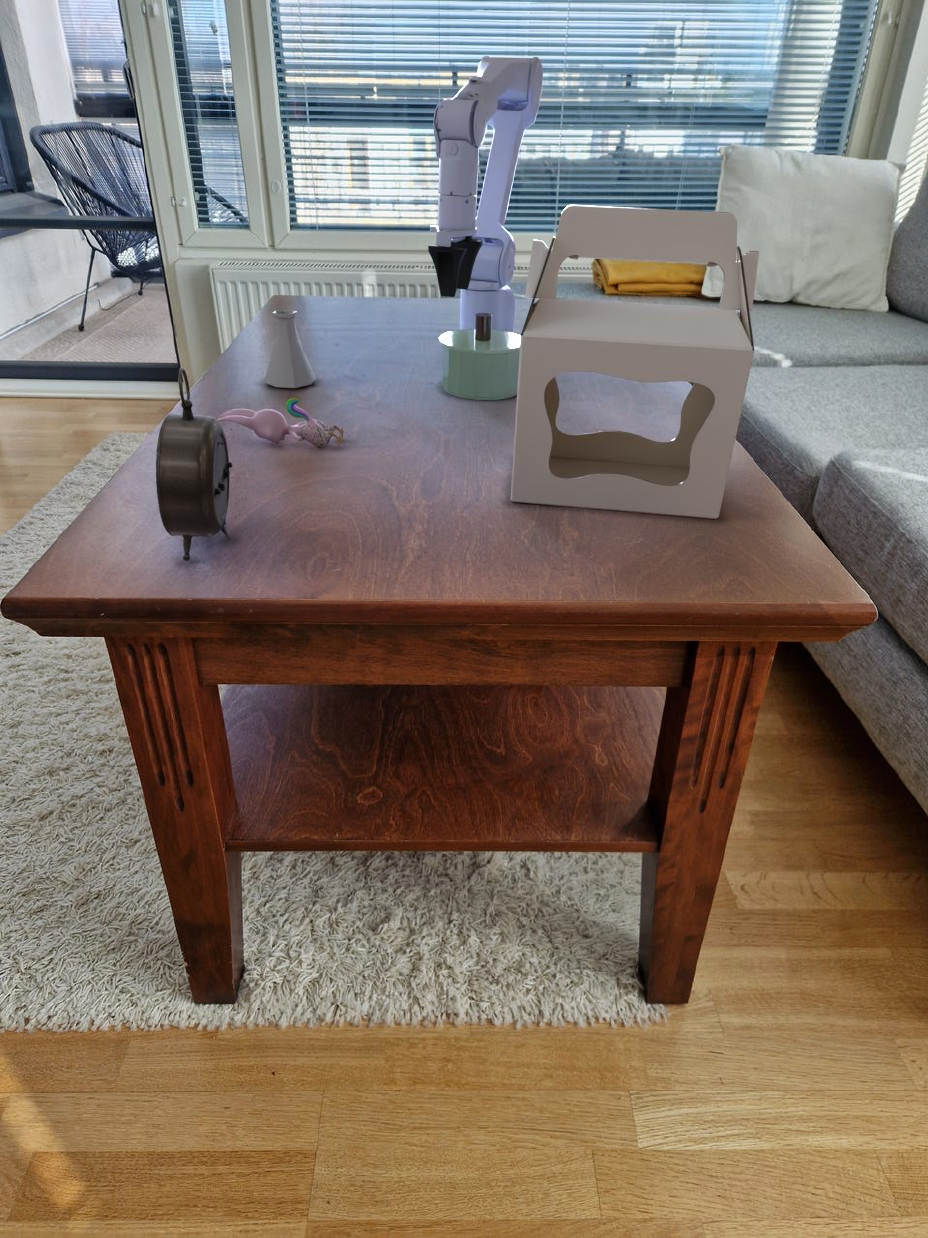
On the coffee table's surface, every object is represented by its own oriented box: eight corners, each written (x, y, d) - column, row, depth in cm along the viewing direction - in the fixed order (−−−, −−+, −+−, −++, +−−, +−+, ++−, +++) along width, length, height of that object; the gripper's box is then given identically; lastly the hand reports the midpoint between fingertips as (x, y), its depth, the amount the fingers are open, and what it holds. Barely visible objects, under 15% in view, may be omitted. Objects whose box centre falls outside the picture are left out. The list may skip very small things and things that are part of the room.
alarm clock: (189, 515, 83) (162, 351, 74) (244, 514, 83) (223, 351, 75) (165, 568, 74) (131, 388, 65) (227, 567, 74) (201, 388, 66)
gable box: (707, 471, 97) (759, 206, 82) (720, 520, 86) (784, 223, 70) (518, 457, 99) (535, 195, 84) (507, 502, 88) (525, 211, 73)
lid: (481, 331, 127) (483, 301, 124) (543, 348, 119) (546, 316, 117) (420, 344, 119) (420, 312, 117) (483, 363, 112) (484, 329, 109)
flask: (324, 379, 123) (320, 309, 118) (296, 392, 118) (290, 319, 112) (284, 372, 126) (278, 303, 120) (255, 384, 120) (247, 313, 115)
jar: (481, 372, 129) (482, 329, 125) (537, 389, 122) (540, 345, 119) (426, 386, 122) (426, 341, 118) (482, 405, 115) (484, 359, 112)
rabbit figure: (343, 445, 104) (224, 423, 103) (349, 399, 101) (226, 376, 100) (336, 464, 99) (210, 440, 98) (341, 416, 96) (211, 391, 94)
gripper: (445, 190, 129) (443, 283, 136) (416, 195, 117) (415, 297, 123) (489, 193, 127) (484, 287, 134) (464, 198, 115) (461, 301, 122)
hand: (454, 292), depth 129 cm, fingers open, 7 cm apart
